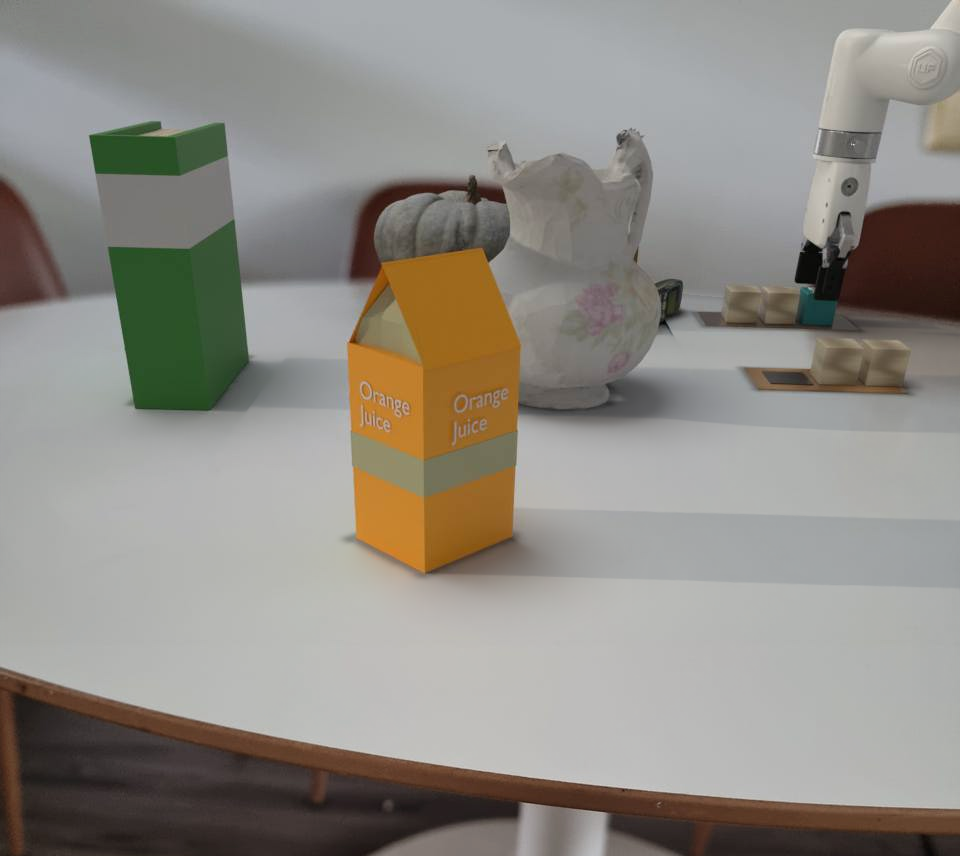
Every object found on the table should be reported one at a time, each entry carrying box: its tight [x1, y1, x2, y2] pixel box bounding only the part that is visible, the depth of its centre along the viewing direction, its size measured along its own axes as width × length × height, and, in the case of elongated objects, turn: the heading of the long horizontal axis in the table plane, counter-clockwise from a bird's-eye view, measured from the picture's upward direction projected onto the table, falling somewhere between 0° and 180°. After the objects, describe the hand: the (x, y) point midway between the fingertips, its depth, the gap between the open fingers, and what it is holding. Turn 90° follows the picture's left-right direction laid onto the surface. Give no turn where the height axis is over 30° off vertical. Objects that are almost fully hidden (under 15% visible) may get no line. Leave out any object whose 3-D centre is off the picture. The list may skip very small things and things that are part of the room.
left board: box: [696, 284, 860, 332], centre depth 130 cm, size 20×8×5 cm, turn 88°
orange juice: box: [346, 248, 522, 574], centre depth 66 cm, size 8×9×20 cm
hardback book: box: [88, 120, 250, 411], centre depth 97 cm, size 18×7×24 cm, turn 179°
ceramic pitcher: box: [484, 127, 661, 410], centre depth 97 cm, size 22×20×25 cm
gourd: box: [373, 174, 510, 267], centre depth 132 cm, size 25×25×17 cm
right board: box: [742, 337, 912, 395], centre depth 107 cm, size 16×8×5 cm, turn 88°
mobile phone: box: [654, 278, 684, 325], centre depth 130 cm, size 5×3×15 cm
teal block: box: [796, 286, 838, 326], centre depth 129 cm, size 4×4×4 cm
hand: (815, 291), depth 129 cm, fingers open, 9 cm apart
